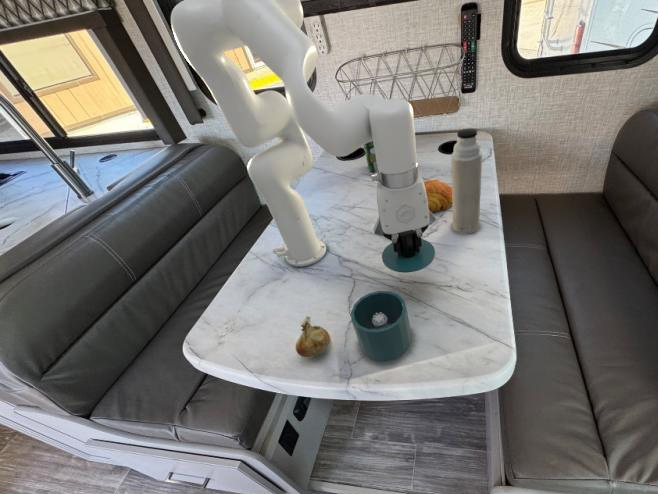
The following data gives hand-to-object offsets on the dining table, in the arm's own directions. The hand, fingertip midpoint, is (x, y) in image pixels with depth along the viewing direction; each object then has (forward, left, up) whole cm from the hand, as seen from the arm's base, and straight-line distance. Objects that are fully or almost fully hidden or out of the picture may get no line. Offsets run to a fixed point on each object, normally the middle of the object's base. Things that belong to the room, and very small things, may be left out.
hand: (407, 250), depth 77 cm
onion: (-26, -11, -13) cm, 31 cm away
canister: (-10, -14, -13) cm, 21 cm away
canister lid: (0, 0, -1) cm, 1 cm away
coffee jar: (+3, +79, -13) cm, 80 cm away
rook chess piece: (-10, -14, -13) cm, 21 cm away
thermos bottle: (+22, +23, -13) cm, 35 cm away
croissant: (+17, +41, -13) cm, 46 cm away
